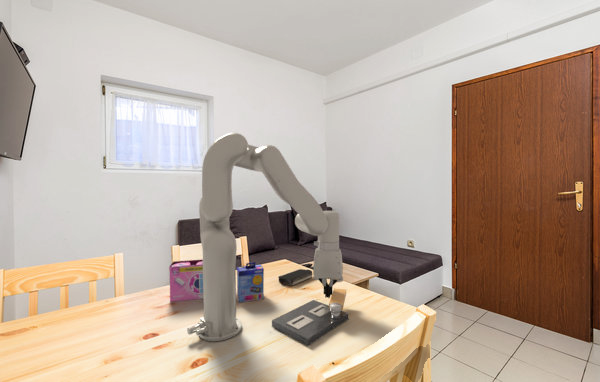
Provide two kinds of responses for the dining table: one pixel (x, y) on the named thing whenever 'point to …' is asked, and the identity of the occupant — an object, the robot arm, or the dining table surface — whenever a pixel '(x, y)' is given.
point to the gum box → (186, 280)
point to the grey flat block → (309, 322)
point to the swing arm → (337, 300)
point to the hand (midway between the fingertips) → (327, 296)
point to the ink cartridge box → (250, 282)
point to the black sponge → (295, 277)
